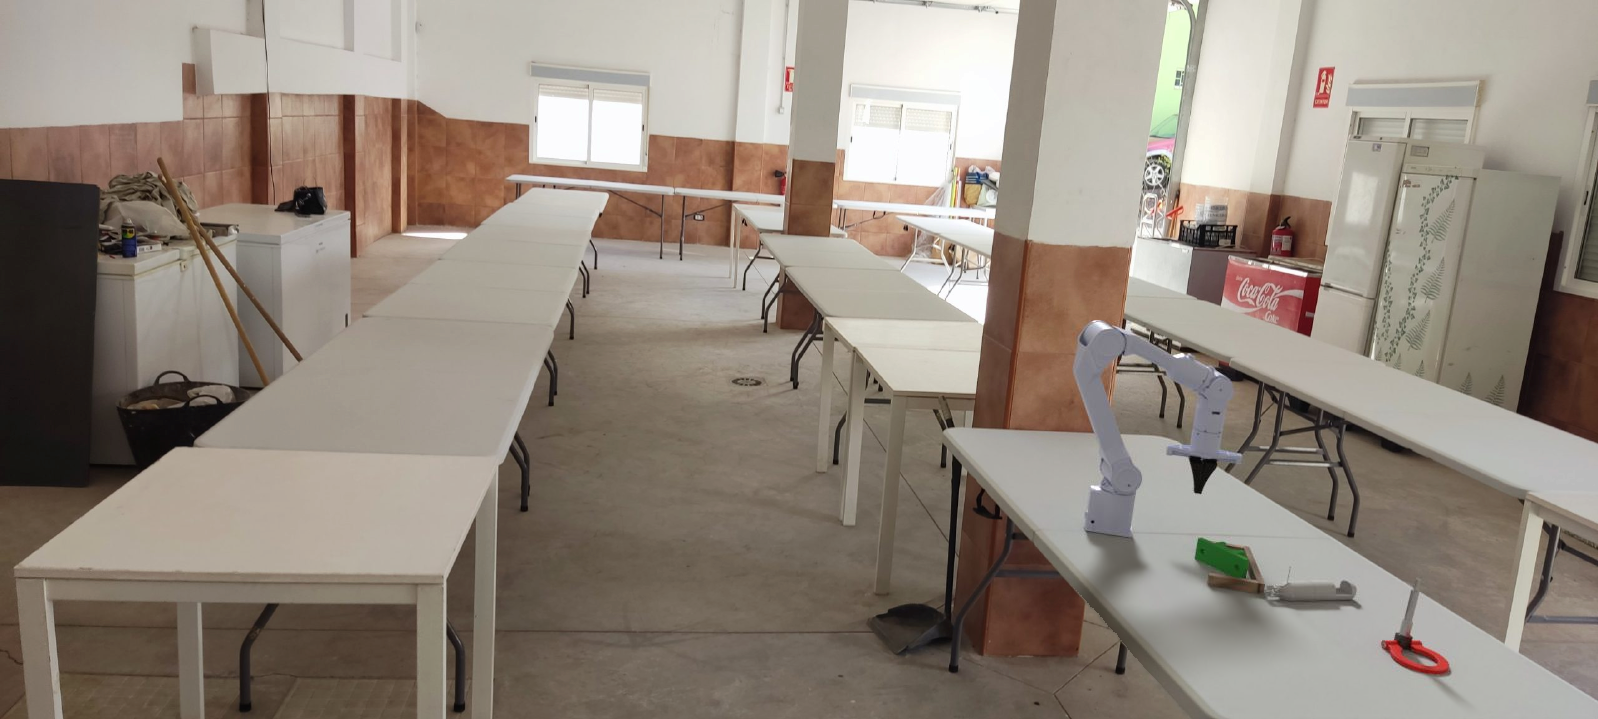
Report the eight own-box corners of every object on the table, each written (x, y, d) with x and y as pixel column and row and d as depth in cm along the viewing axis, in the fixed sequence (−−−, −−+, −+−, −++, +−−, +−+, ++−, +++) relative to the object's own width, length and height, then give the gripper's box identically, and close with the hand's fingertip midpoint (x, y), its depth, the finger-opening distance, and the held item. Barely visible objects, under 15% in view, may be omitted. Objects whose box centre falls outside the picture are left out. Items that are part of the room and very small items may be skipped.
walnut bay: (1207, 585, 197) (1209, 575, 197) (1196, 548, 215) (1198, 538, 215) (1263, 594, 195) (1265, 584, 195) (1247, 555, 213) (1249, 546, 213)
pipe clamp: (1254, 579, 202) (1258, 557, 201) (1241, 582, 201) (1245, 559, 200) (1207, 556, 212) (1211, 535, 211) (1194, 559, 210) (1197, 537, 209)
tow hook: (1459, 676, 170) (1420, 646, 179) (1479, 604, 167) (1438, 576, 176) (1412, 677, 169) (1374, 646, 178) (1430, 604, 166) (1391, 576, 174)
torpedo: (1343, 592, 199) (1349, 560, 198) (1360, 604, 195) (1367, 571, 193) (1256, 594, 196) (1262, 561, 194) (1272, 606, 191) (1278, 572, 190)
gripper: (1172, 429, 216) (1162, 492, 219) (1248, 439, 212) (1237, 503, 215) (1169, 420, 222) (1159, 482, 225) (1243, 430, 219) (1232, 492, 222)
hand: (1197, 492), depth 221 cm, fingers closed
